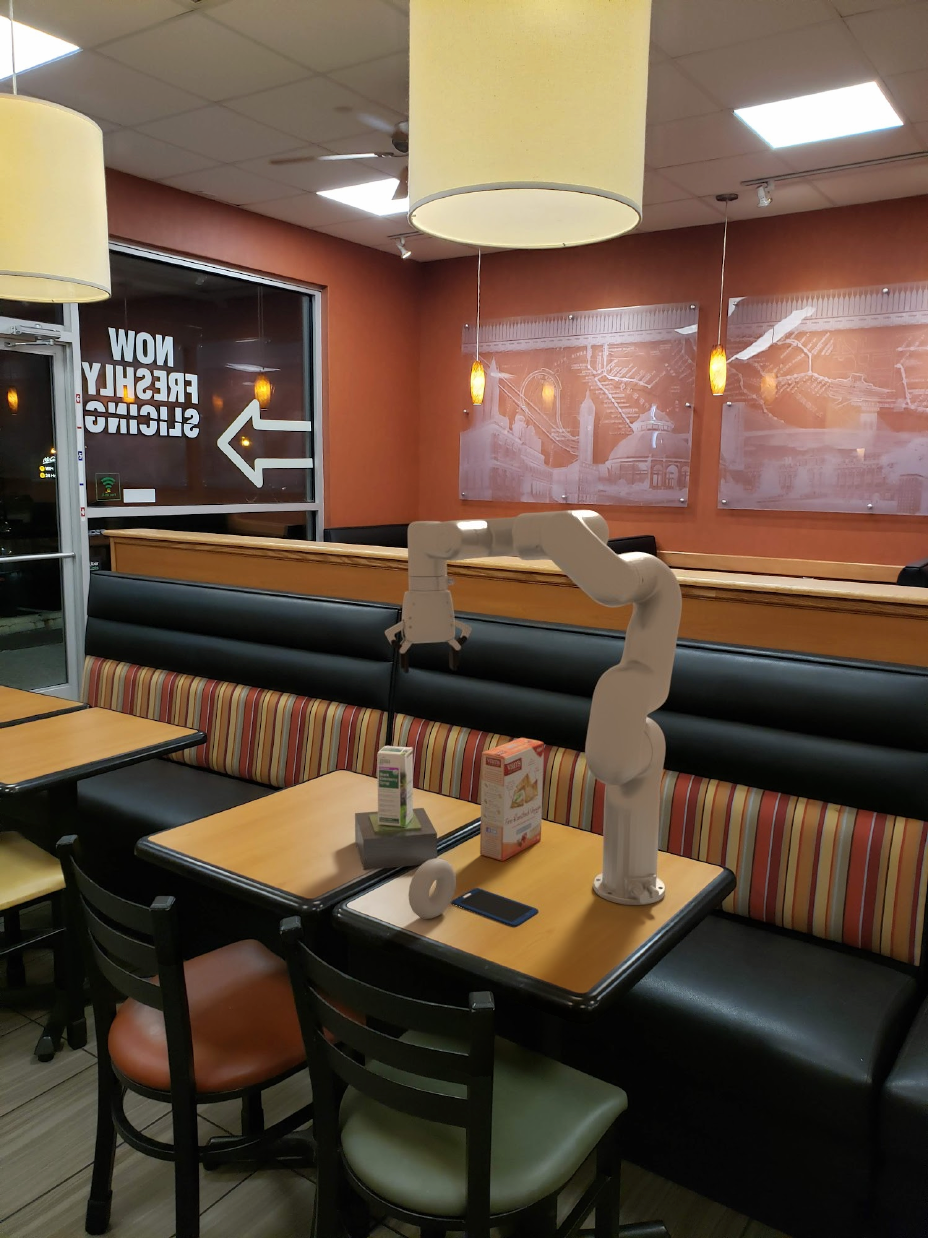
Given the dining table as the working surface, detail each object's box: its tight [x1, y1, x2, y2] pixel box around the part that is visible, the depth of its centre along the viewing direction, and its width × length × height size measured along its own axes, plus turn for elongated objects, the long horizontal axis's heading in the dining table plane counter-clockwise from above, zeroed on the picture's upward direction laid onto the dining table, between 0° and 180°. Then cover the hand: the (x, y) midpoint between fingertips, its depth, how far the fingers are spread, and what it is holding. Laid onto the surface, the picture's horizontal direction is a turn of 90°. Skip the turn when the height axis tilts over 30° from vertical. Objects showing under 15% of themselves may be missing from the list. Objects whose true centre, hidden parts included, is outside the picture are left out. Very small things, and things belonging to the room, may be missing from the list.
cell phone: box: [451, 887, 539, 928], centre depth 155 cm, size 7×14×1 cm, turn 51°
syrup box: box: [376, 745, 414, 827], centre depth 176 cm, size 6×6×14 cm
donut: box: [408, 857, 457, 920], centre depth 150 cm, size 10×4×10 cm, turn 139°
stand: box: [354, 807, 438, 871], centre depth 177 cm, size 14×14×6 cm
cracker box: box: [479, 737, 545, 862], centre depth 178 cm, size 14×6×21 cm, turn 143°
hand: (429, 670), depth 179 cm, fingers open, 9 cm apart
